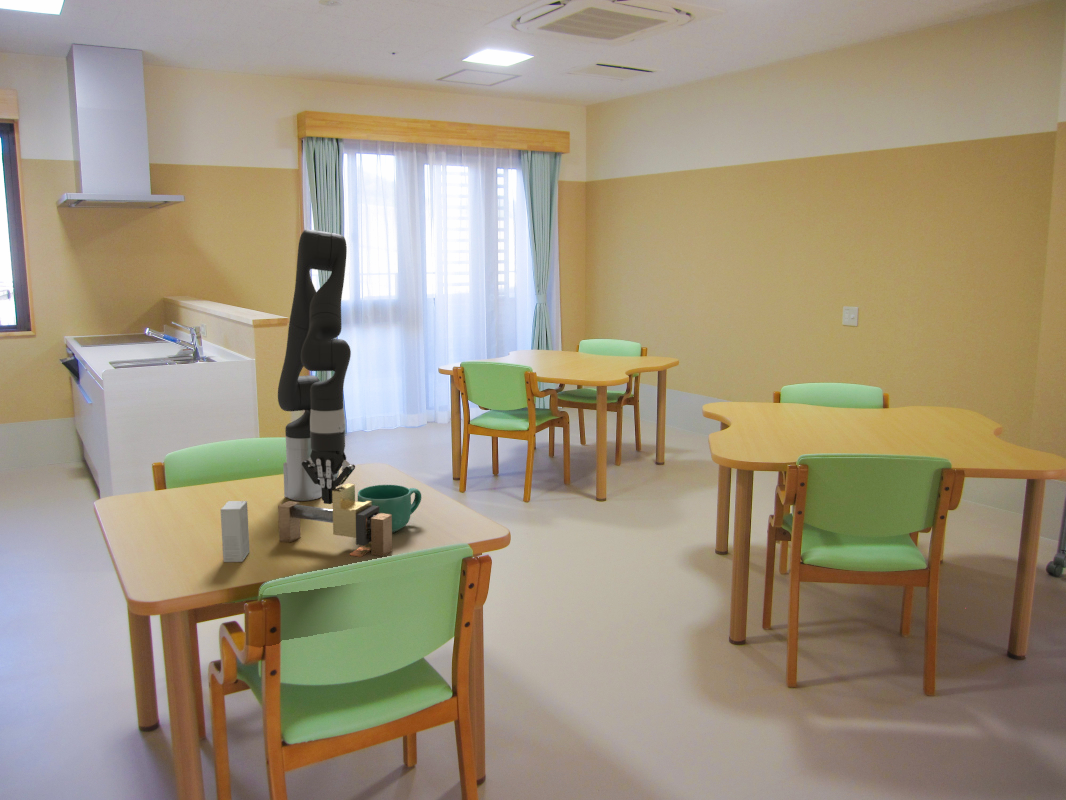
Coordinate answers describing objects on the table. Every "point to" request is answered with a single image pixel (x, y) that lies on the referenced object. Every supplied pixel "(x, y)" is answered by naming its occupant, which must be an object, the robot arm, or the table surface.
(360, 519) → the dark grey square plate
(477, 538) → the table surface
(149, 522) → the table surface
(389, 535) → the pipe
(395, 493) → the mug
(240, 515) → the skincare box
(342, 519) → the tan notched block
